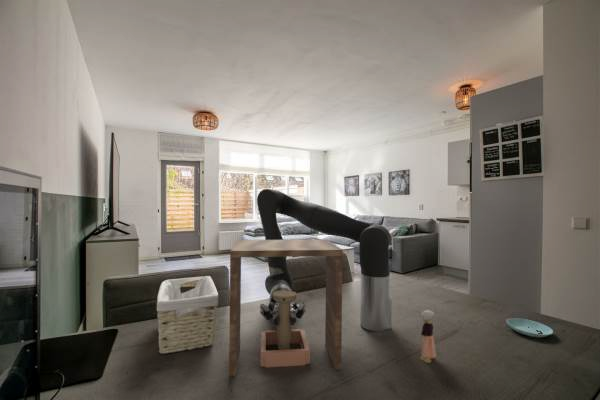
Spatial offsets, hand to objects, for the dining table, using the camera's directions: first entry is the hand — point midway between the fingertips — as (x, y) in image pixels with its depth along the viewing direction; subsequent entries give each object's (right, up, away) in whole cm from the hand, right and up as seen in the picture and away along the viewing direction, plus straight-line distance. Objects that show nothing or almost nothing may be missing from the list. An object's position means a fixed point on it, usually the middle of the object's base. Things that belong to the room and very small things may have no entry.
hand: (285, 321), depth 75 cm
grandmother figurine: (+38, -10, +1) cm, 39 cm away
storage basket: (-31, -10, +13) cm, 35 cm away
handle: (0, -9, +3) cm, 9 cm away
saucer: (+77, -11, +17) cm, 80 cm away
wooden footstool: (0, -10, +3) cm, 10 cm away
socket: (0, -10, +3) cm, 10 cm away
